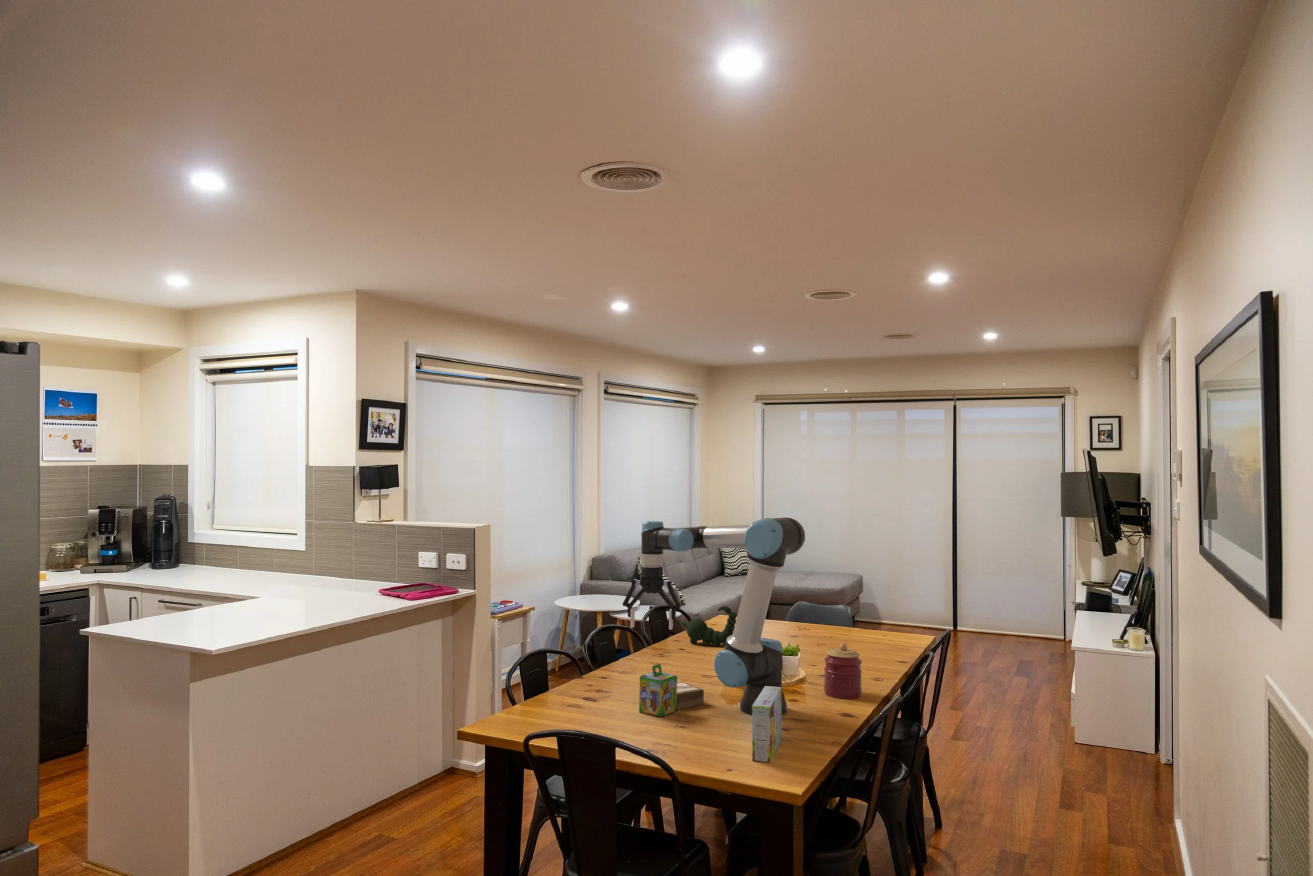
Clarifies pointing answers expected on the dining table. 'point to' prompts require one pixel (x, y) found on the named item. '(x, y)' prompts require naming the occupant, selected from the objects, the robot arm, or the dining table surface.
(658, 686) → the chalk box
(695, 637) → the toy figurine
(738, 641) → the robot arm
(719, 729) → the dining table surface
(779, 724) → the snack box
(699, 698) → the riser
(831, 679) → the canister
